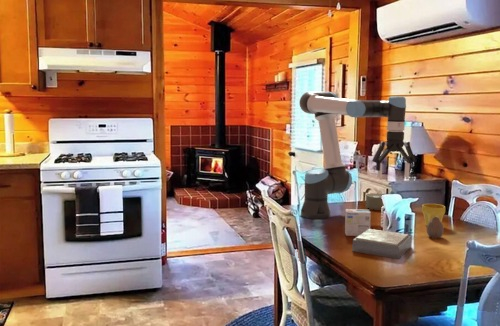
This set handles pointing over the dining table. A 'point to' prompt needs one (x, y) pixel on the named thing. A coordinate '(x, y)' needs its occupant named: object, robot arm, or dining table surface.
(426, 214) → the plant pot
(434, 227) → the gray brown egg
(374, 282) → the dining table surface
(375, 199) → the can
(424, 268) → the dining table surface
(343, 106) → the robot arm
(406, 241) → the stand
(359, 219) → the light bulb box
